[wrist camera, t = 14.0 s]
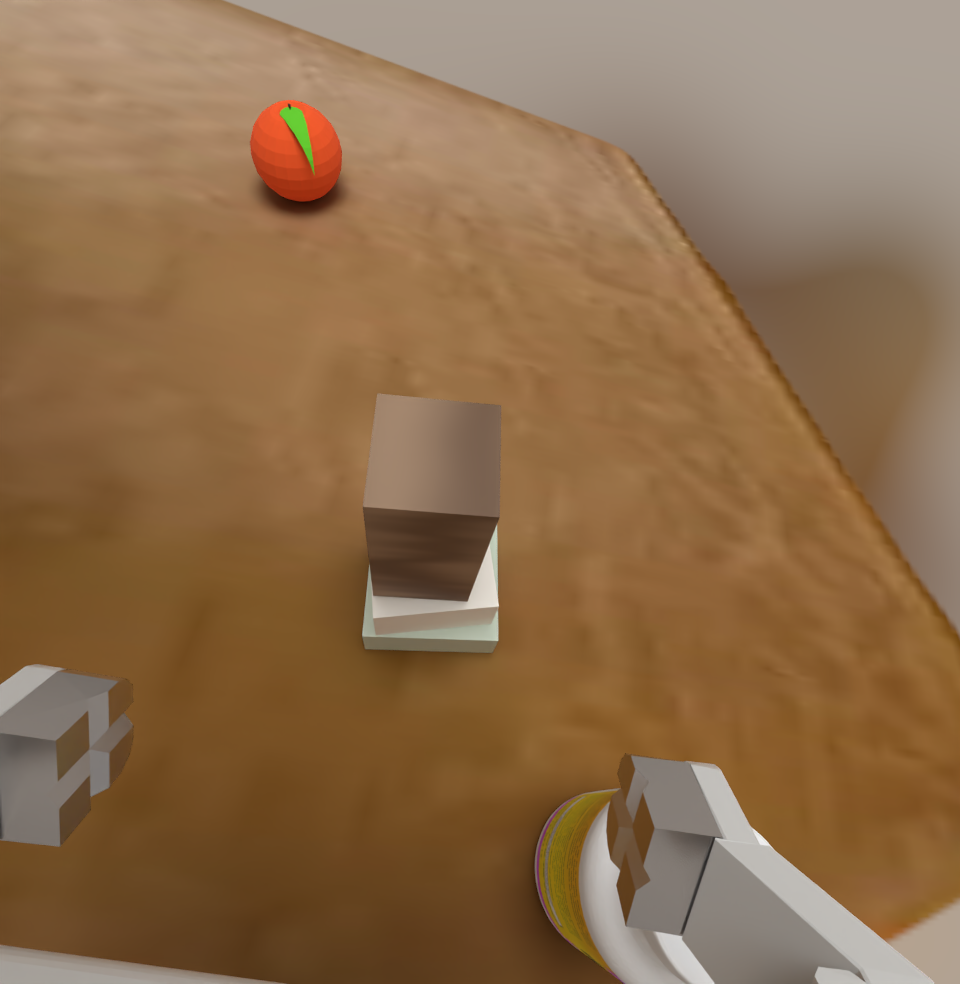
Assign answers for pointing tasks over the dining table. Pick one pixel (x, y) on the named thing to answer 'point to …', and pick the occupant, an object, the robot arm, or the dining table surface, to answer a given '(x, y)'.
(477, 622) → the tower cap
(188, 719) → the dining table surface
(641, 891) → the robot arm
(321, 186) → the clementine
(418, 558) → the walnut post
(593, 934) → the supplement bottle
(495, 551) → the tower base
